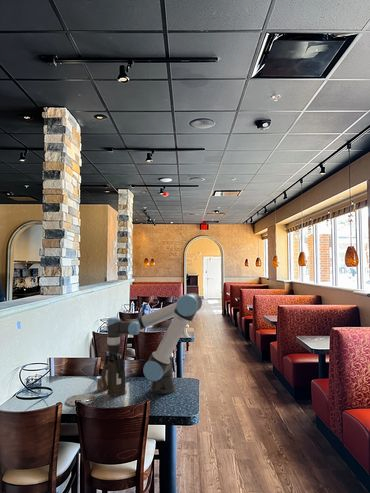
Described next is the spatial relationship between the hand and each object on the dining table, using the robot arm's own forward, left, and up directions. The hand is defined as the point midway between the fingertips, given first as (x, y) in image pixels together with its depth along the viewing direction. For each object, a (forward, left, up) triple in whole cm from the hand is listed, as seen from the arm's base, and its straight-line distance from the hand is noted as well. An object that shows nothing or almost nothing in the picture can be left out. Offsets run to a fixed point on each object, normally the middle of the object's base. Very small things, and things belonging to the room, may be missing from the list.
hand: (113, 382), depth 226 cm
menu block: (+12, -3, -7) cm, 14 cm away
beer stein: (0, 0, -7) cm, 7 cm away
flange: (+5, +19, -7) cm, 21 cm away
